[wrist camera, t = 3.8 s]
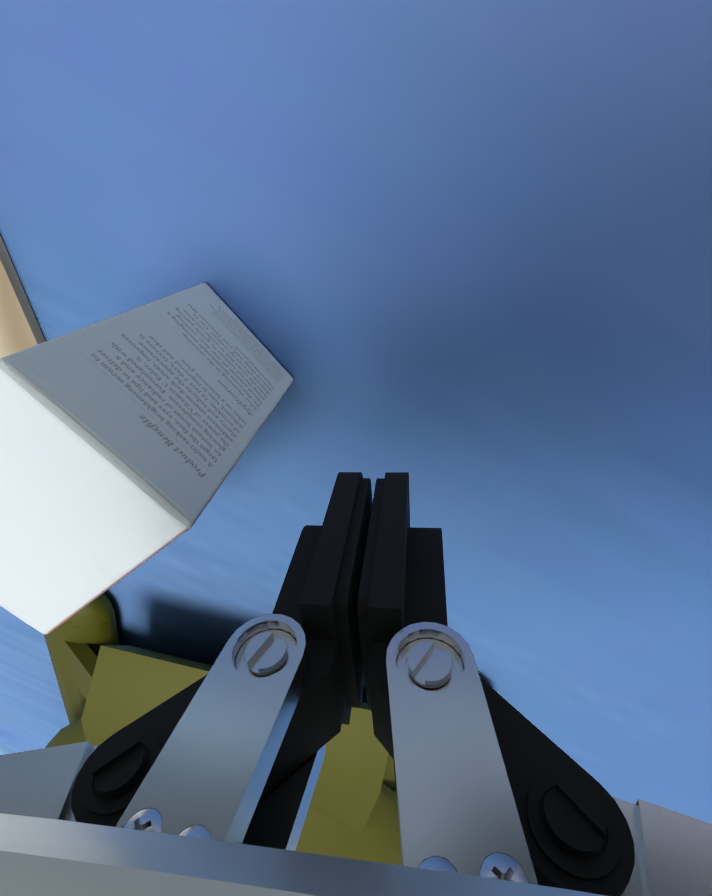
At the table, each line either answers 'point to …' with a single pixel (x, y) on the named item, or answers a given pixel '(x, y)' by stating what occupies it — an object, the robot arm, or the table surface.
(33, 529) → the small box
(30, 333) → the board
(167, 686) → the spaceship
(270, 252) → the table surface
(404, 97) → the table surface
